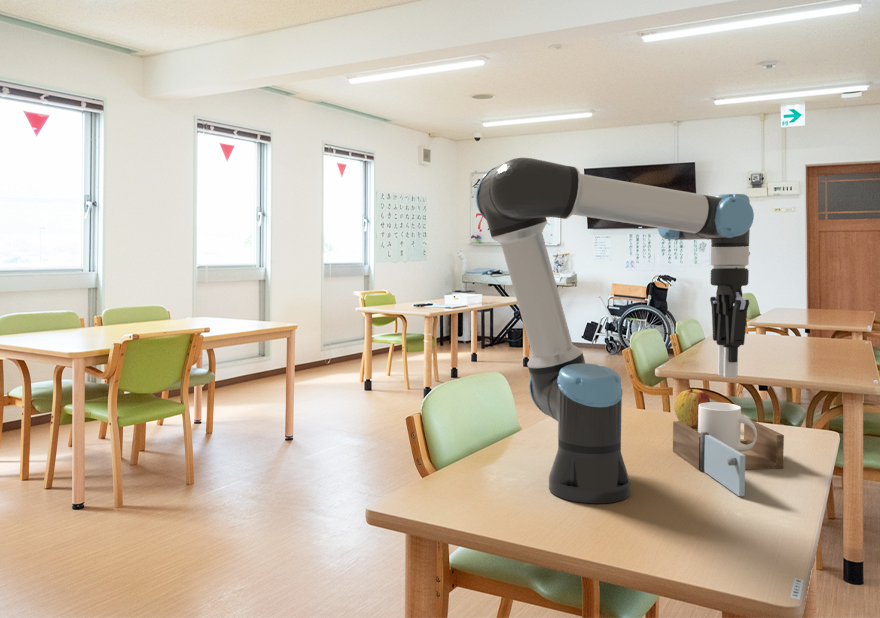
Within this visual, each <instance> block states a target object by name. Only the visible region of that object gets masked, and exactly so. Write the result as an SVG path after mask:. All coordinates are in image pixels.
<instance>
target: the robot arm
mask: <svg viewBox="0 0 880 618" xmlns="http://www.w3.org/2000/svg"><path fill="white" fill-rule="evenodd" d="M475 203H476V208H477V210H478V211H479V213H480V214H481V216H482V217H483V219H485V220H486V223H487V227H488V230H489V234H490V237H491V239H492V240H494V241H496V242H497V243H499V244H500V245H501V249H502V252H503V255H504V259H505V262H506V266H507V270H508V273H509V277H510V280H511V285H512V288H513V291H514V295H515V298H516V302H517V306H518V309H519V312H520V316H521V320H522V325H523V327H524V330H525V331H524V332H525V333H526V338H527V341H528V345H529V349H530V352H531V356H530V358H529V360H528V361H527V362H526V363H527V364H526V365H527V369H528V371H529V376H530V378H529V381H528V391H529V395H530V397H531V400H532V401H533V403H534V404H535V406H536V407H537V408H538V409H539V411H541V413H543V414H544V415H545V416H548V417H549V418H552V419H553V420H555V421H557V423H558V425H557V426H558V428H557V431H558V432H557V433H558V434H557V435H558V436H557V437H558V438H557V439H558V440H557V441H558V443H557V444H558V445H557V446H558V448H557V453H556V455H555V458H554V461H553V464H552V467H551V470H550V472H549V476H548V490H549V491H550V493H551V494H553V495H555V496H556V497H558V498H561V499H564V500H567V501H571V502H577V503H584V504H608V503H616V502H620V501H623V500H625V499H627V498H628V497H629V496H630V494H631V481H630V477H629V473H628V471H627V467H626V464H625V460H624V458H623V455H622V406H623V405H622V404H623V403H622V402H623V400H622V399H623V388H622V379H621V377H620V374H619V373H618V372H617V371H615V370H614V369H612V368H611V367H607V366H604V365H599V364H595V363H594V364H593V363H586V360H585V357H584V353H583V350H582V349H581V348H580V347H578V346H576V345H574V343H573V341H572V337H571V334H570V330H569V327H568V323H567V320H566V316H565V315H566V314H565V311H564V307H563V304H562V301H561V297H560V294H559V293H560V292H559V290H558V287H557V282H556V279H555V274H554V271H553V267H552V264H551V263H552V262H551V260H550V257H549V253H548V249H547V246H546V242H545V239H544V235H543V231H544V228H545V227H546V225H547V224H548V220H547V218H557V219H563V220H566V219H567V220H568V219H569V218H570V217H572V216H578V217H579V216H580V217H584V218H585V217H586V218H592V219H598V220H605V221H612V222H619V223H626V224H631V225H638V226H645V227H650V228H651V227H652V228H657V231H658V234H659V236H661V238H663V239H665V240H672V241H673V240H674V241H679V240H682V241H685V240H688V241H690V240H710V242H711V244H710V245H711V246H710V266H712V267H713V268H711V269H710V284H711V286H713V287H715V286H716V293H715V294H716V295H715V296H710V300H709V301H710V305H711V306H710V307H711V323H712V324H711V325H712V327H711V328H712V340H713V341H714V342H716V345H717V375H718V376H723V378H738V368H739V365H738V363H739V362H738V361H739V358H738V357H739V348H740V346H744V345H745V338H746V330H747V329H746V326H747V315H748V309H749V306H750V300H749V299H744V297H743V290H742V287H745V286H748V285H749V275H750V274H749V271H750V270H749V268H746V266H748V265H749V258H750V255H751V252H750V232H751V231H750V230H751V227H752V226H753V223H754V218H755V217H754V216H755V214H754V213H755V212H754V209H753V207H752V205H751V202H750V197H749V196H748V195H747V194H744V193H727V194H723V193H722V194H716V195H713V196H712V195H708V194H707V195H705V194H702V193H696V192H691V191H690V192H689V191H683V190H678V189H671V188H666V187H661V186H660V187H659V186H654V185H649V184H642V183H636V182H631V181H630V182H629V181H623V180H620V179H619V180H618V179H613V178H607V177H601V176H595V175H590V174H583V173H581V172H580V170H579V169H578V168H577V167H576V166H571V165H565V164H561V163H556V162H551V161H547V160H542V159H536V158H531V157H530V158H529V157H515V158H512V159H510V160H508V161H505V162H504V163H502V164H500V165H497V166H494V167H492V168H491V169H490V170H488V171H487V172H486V173H485V174H484V175H483V177H482V178H481V180H480V181H479V184H478V185H477V187H476V193H475Z"/></svg>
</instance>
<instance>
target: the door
mask: <svg viewBox="0 0 880 618" xmlns="http://www.w3.org/2000/svg"><path fill="white" fill-rule="evenodd" d="M703 473H706V474H707V475H708V476H710V477H711V478H713V479H714V480H715V481H717V482H718V483H719V484H721V485H722V486H723V487H725V488H727V489H728V490H729V491H731V492H732V493H734V494H735V495H736V496H739V497H745V493H746V492H745V489H746V488H745V487H746V486H745V484H746V469H745V455H744V454H742V453H740V452H738V451H737V450H735V449H733V448H731V447H730V446H728V445H726V444H725V443H723V442H721V441H719V440H718V439H716V438H714V437H712V436H711V435H705V455H704V472H703Z"/></svg>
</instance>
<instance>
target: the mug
mask: <svg viewBox="0 0 880 618" xmlns="http://www.w3.org/2000/svg"><path fill="white" fill-rule="evenodd" d="M751 420H752V419H749V417H747V416H745V415H744V414H742V407H741V406H740V405H737V404H733V403H728V402H716V401H715V402H714V401H710V402H707V403H701V404H699V409H698V427H697V432H699V433H701V432H707V433H709V435H711V436H712V437H714V438H716V439H718V440H719V441H721V442H723V443H725V444H726V445H728V446H730V447H731V448H733V449H735V450H737V451H738V452H744V451H748V450H750V449H751V448H752V447H753V446H754V445H755V443H756V439H757V431H756V427H755V425H754V424H753V423H752V421H753V420H752V421H751ZM742 424H743V425H744V424H747V425H748V426H750V427H751V428H752V429H753V431H754V434H755V438H754V441H753V442H752V443H751V444H748V445H745V444H742V443H741V442H740V439H741V433H742V432H741V430H742V429H741V425H742Z"/></svg>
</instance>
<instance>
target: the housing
mask: <svg viewBox="0 0 880 618" xmlns="http://www.w3.org/2000/svg"><path fill="white" fill-rule="evenodd" d="M750 420H751V421H752V423H753V424H754V425H755V427H756V431H757V439H756V443H755V445H754V446H753V447H752V448H751V449H750V450H748V451H744V452H740V453H742V454H744V455H745V470H752V469H753V470H754V469H755V470H756V469H757V470H759V469H760V470H761V469H762V470H763V469H784V450H785V449H784V448H785V447H784V446H785V445H784V444H785V443H784V441H785V435H784V434H782V433H780V432H778V431H776V430H774V429H771V428H770V427H767V426H765V425H763V424H760V423H759V422H757V421H754V420H752V419H750ZM672 424H673V425H672V427H673V428H672V429H673V430H672V452H673V453H674V454H676V455H677V456H678V457H680V458H681V459H683V460H684V461H685V462H686V463H688V464H690V465H691V466H692V467H694V468H695V469H696V470H698V471H699V472H701V473H705V472H704V455H705V435H709V433H707V432H701V433H699V432H698V430H696V429H695V428H691V427H689V426H687V425H685V424H684V423H682V422H680V421H679V420H678V421H677V420H674V421H673V423H672ZM754 438H755V434H754V431H753V429H752V428H751V427H750V426H748V425H747V424H744V423H743V438H742V439H741V438H740V442H741V443H742V444H745V445H748V444H751V443H752V442H753V441H754Z"/></svg>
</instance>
